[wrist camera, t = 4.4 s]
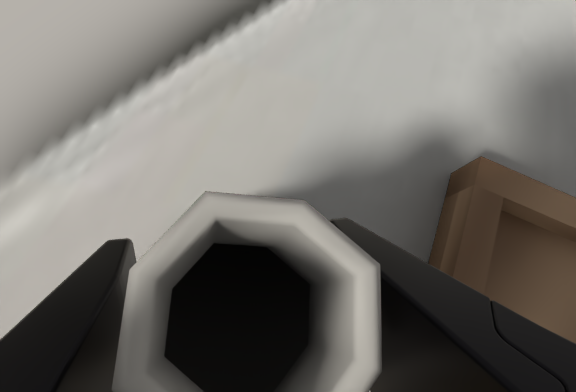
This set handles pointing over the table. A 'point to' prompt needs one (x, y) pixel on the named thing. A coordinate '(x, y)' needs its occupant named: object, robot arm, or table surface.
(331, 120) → the table surface
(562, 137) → the table surface
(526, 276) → the walnut tray
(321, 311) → the flask
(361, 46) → the table surface
